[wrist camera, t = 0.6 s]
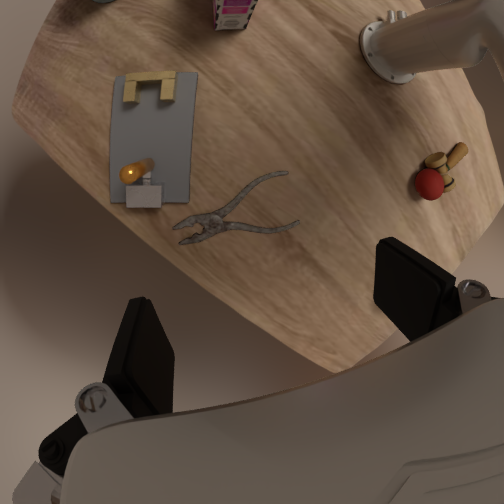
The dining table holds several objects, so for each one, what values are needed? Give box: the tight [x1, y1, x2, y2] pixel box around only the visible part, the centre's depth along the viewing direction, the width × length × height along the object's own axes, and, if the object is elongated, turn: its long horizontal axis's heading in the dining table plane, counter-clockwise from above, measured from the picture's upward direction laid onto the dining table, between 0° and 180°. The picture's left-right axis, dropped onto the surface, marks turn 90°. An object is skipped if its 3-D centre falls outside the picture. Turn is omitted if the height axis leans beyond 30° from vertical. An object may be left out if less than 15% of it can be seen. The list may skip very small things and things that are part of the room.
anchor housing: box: [126, 182, 165, 208], centre depth 35 cm, size 3×5×3 cm, turn 84°
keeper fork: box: [123, 71, 178, 104], centre depth 29 cm, size 4×7×3 cm, turn 85°
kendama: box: [415, 142, 468, 201], centre depth 40 cm, size 8×6×18 cm
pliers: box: [172, 171, 300, 245], centre depth 42 cm, size 10×1×20 cm
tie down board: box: [110, 72, 198, 203], centre depth 34 cm, size 19×12×2 cm, turn 175°
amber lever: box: [119, 158, 155, 184], centre depth 31 cm, size 7×2×10 cm, turn 175°
